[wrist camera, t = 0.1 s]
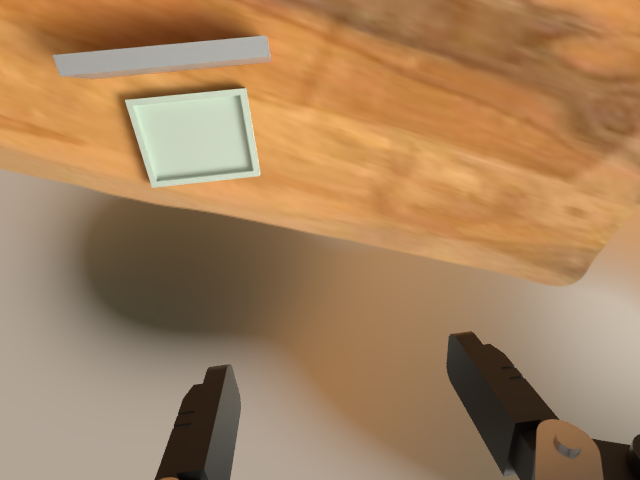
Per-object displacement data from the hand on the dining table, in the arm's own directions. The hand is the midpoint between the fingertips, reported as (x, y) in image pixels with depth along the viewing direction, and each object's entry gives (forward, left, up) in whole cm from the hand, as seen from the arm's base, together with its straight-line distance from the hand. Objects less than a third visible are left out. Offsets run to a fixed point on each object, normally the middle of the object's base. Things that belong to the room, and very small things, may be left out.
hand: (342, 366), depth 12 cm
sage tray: (-6, -11, -29) cm, 32 cm away
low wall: (-13, -11, -29) cm, 34 cm away
